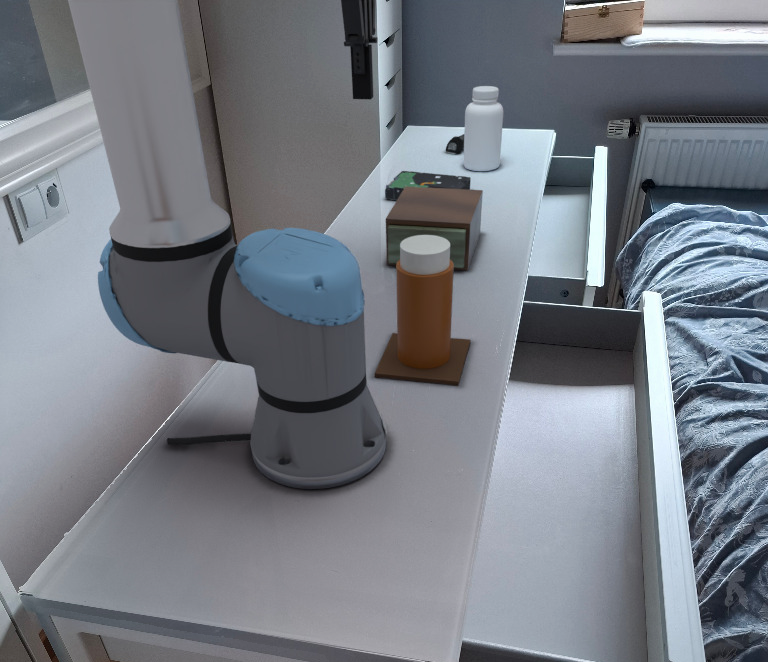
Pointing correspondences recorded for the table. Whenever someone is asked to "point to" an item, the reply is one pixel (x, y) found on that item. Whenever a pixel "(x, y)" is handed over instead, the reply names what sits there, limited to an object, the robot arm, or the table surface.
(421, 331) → the pill bottle
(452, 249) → the drawer
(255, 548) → the table surface
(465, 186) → the disk drive
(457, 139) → the electric trimmer
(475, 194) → the cabinet
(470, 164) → the pill bottle
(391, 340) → the mat
